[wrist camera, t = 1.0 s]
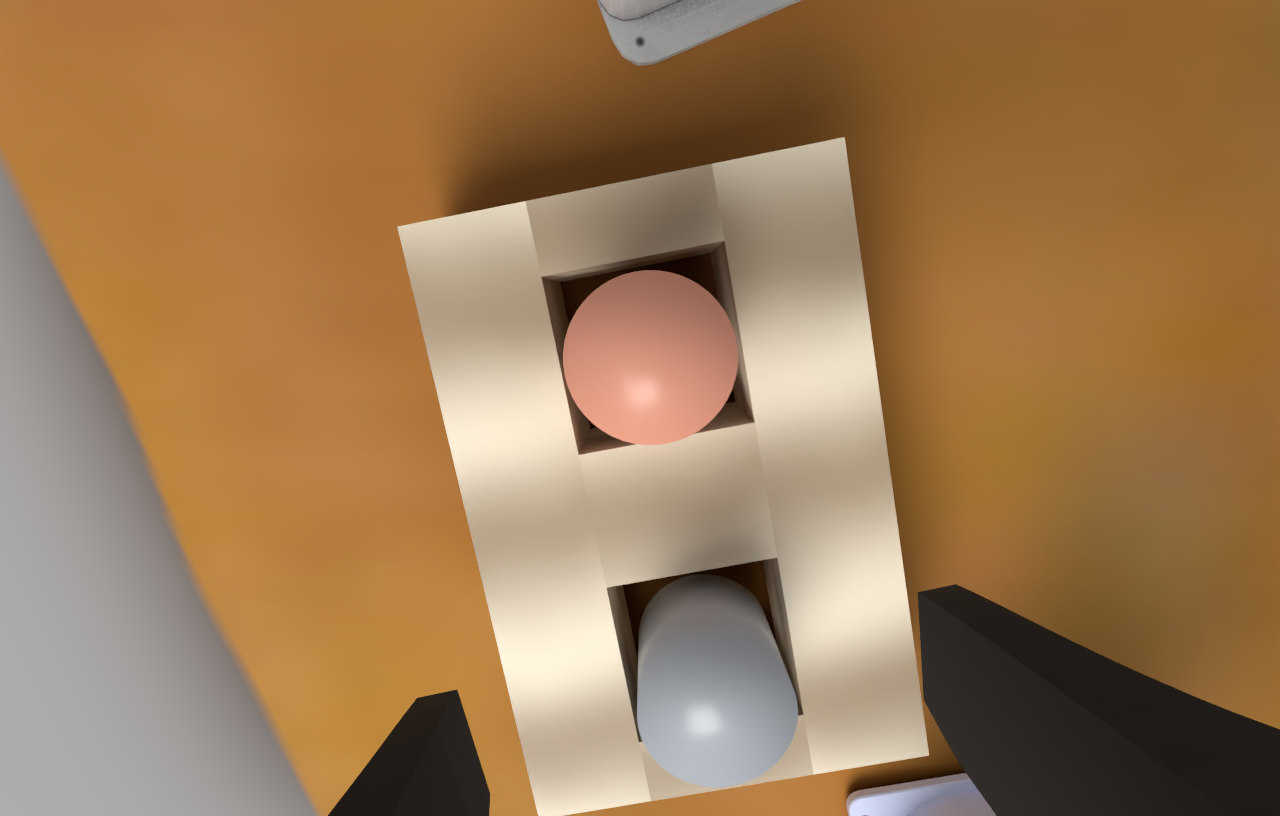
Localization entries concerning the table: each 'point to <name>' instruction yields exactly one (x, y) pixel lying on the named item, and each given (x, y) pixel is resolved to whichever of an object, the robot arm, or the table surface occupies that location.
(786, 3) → the emergency button
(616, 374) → the terracotta button
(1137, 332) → the table surface
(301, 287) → the table surface
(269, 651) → the table surface
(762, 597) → the table surface
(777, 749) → the grey button
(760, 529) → the button panel
